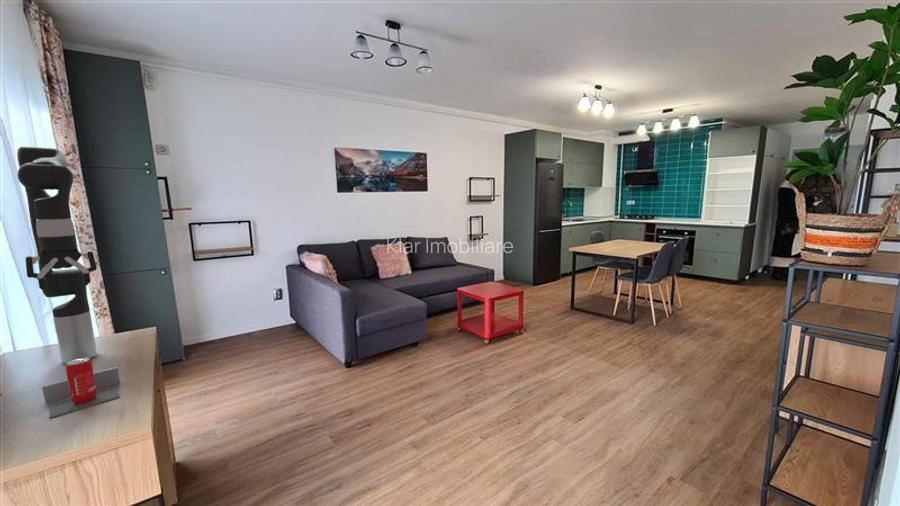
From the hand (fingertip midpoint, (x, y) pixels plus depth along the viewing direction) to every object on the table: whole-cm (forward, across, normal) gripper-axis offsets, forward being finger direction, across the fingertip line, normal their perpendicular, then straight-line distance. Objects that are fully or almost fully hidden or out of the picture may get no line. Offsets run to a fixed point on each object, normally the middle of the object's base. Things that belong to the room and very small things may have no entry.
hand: (66, 287), depth 109 cm
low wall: (+31, 0, +7) cm, 32 cm away
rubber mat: (+31, 0, +15) cm, 34 cm away
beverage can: (+31, 0, +15) cm, 34 cm away
